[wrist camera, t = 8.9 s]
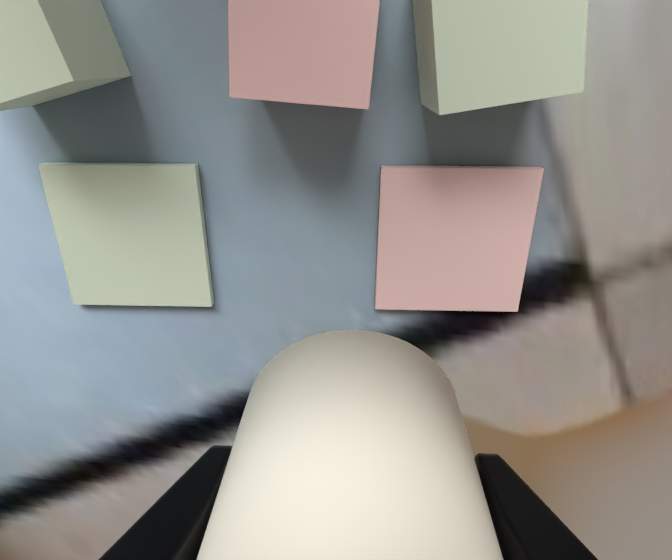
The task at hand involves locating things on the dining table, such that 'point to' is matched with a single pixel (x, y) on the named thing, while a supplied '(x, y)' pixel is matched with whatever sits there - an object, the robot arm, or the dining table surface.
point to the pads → (392, 247)
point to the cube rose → (302, 51)
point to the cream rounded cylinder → (351, 460)
